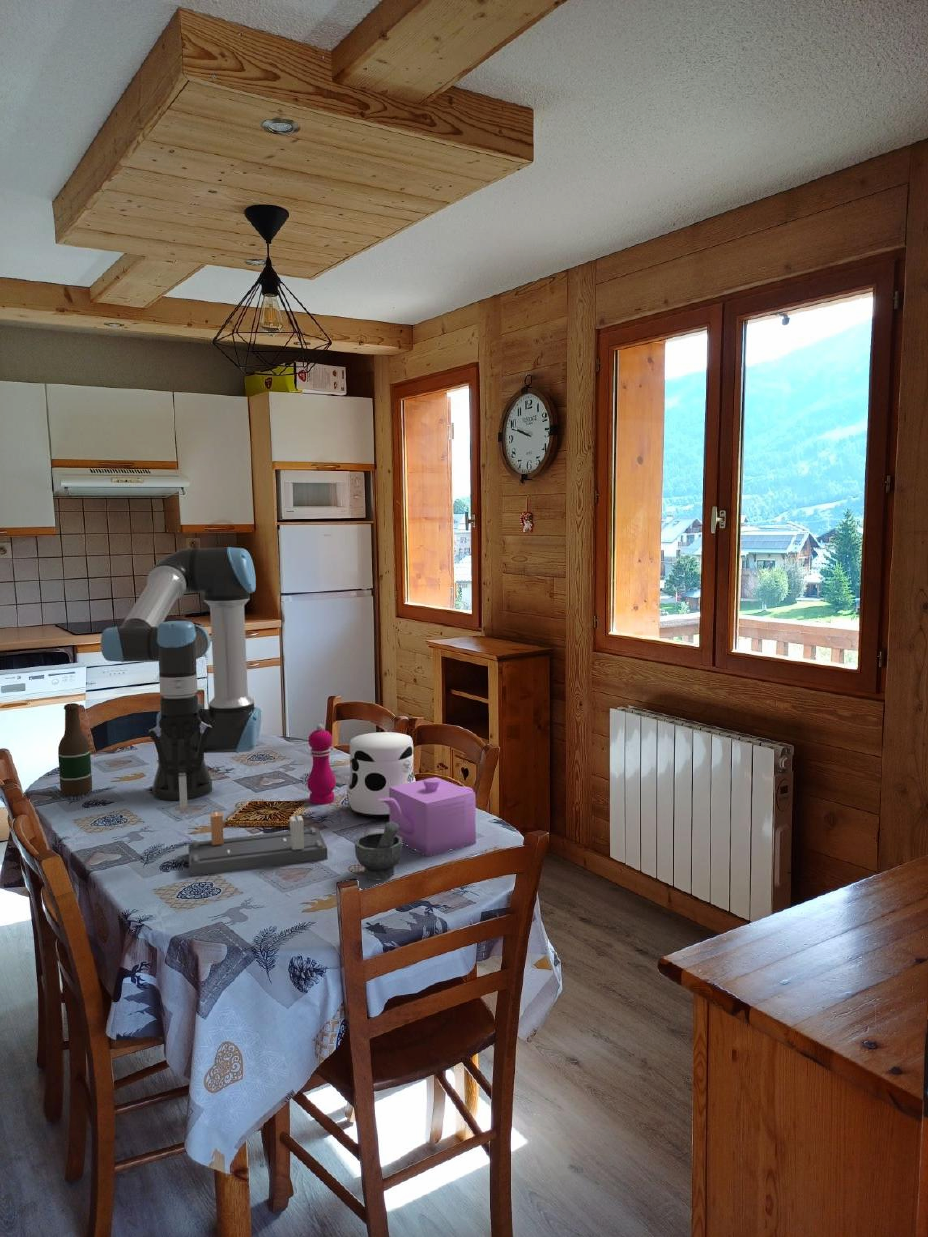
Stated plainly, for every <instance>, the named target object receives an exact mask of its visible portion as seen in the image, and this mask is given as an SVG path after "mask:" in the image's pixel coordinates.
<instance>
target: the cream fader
mask: <svg viewBox="0 0 928 1237" xmlns="http://www.w3.org/2000/svg"><path fill="white" fill-rule="evenodd" d="M289 823H290V824H289V827H290V829H289V831H290V834H291V847H292V850H296V849H304V830H305V829H304V819H303V816H302V815H295V816H289Z"/></svg>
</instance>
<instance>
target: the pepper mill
mask: <svg viewBox="0 0 928 1237" xmlns="http://www.w3.org/2000/svg"><path fill="white" fill-rule="evenodd" d="M308 744H309V747H310V748H311V749H310V755H311V757H312V767H311V771H310V773H309V775H308V779H307V783H306V784H307V789H308V791H309V792H311V793H309V801H310V803H311V804H314V805H326V804H330V803H333V802H334V801H335V792H334V789H336V785H337V783H336V778H335V774H334V773H333V770H332V768H331V766H330V755H331V754H332V753H331V748H330V747H331V745H332V744H333V736H332V734H331V732H329V731H327V730H325V729H324V725H323V724H321V723H320V724H317V725H316V730H314V731H312V732H311V733H310V734H309V736H308Z"/></svg>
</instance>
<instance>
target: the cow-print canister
mask: <svg viewBox="0 0 928 1237" xmlns="http://www.w3.org/2000/svg"><path fill="white" fill-rule="evenodd" d="M349 770H350V771H349V773H350V774H349V781H348V782H347V783H348V784H347V789H346V796H347V803H348V805H349V808H350V810H352V811H353V812H355V813H356V814H358V815H360V816H361V815H362V816H366V817H372V818H373V817H374V818H386V817H390V811H389V806H388V805H387V804H386V803H385V802H382V801H379V799H381V798H388V797H389V788H390V787H393V786H398V785H402V784H407V783H411V782H416V778H415V773H414V772H415V771H414V743H413V738H412V737H411V736H410V735H407V734H405V733H400V732H389V731H387V732H384V731H383V732H382V731H381V732H369V733H363V734H360V735H356V736H354V737H352V738H351V739H350V741H349Z"/></svg>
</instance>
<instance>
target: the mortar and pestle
mask: <svg viewBox="0 0 928 1237" xmlns="http://www.w3.org/2000/svg"><path fill="white" fill-rule="evenodd" d="M398 829H399V826H398V825H397V824H396V823H394V822H390V821H388V822H386V823H385V826H384V831H383V832H375V833H374V832H373V833H367V834H364V835H362V836H359V837H357V838H356V839H355V842H354V852H355V857H356V859H357V861H358V863H359V864H360V865H361V866H362V867H363V868H364V877H366V878H367V879H369V880H375V879H381V880H387V879H386V878H388V879H389V878H391V877H393V876H395V866H396V865H397V864H398V863H399V861H400V859H401V858H402V851H403V850H402V849H403V844H402V837H400V836H398V835H396V833H397V832H398Z"/></svg>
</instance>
